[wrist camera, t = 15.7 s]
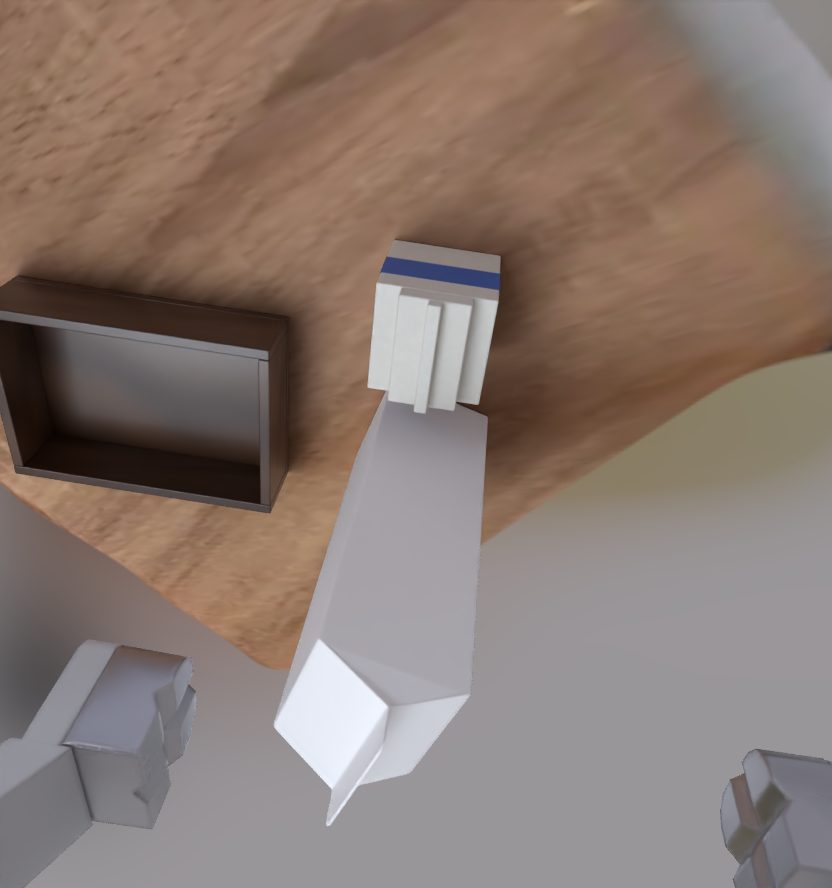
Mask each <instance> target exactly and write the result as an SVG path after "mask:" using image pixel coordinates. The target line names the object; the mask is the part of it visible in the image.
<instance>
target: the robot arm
mask: <svg viewBox="0 0 832 888" xmlns="http://www.w3.org/2000/svg"><path fill="white" fill-rule="evenodd" d="M193 672H194V671H193V665H192V659H191V658H190V657H184V656H179V655H174V654H168V653H163V652H157V651H151V650H146V649H141V648H135V647H129V646H124V645H120V644H114V643H108V642H102V641H95V640H89V639H88V640H86V641H85V642H84V643H83V644H82V645H81V646H80V647H79V648H78V649H77V650H76V652H75V653H74V655H73V657H72V658H71V660H70V662H69V663H68V665H67V666H66V668H65V670H64V671H63V673H62V674H61V676H60V678H59V679H58V681H57V682H56V684H55V686H54V687H53V689H52V690H51V692H50V694H49V695H48V697H47V698H46V700H45V702H44V703H43V705H42V707H41V708H40V710H39V711H38V713H37V715H36V716H35V718H34V719H33V721H32V723H31V724H30V726H29V728H28V729H27V731H26V732H25V734H24V736H23V737H22V738H15V737H11V738H9V739H8V740H6V741H5V742H3V743H2V744H0V888H24V887H25V886H27V885H28V884H29V883H30V882H31V881H32V880H33V879H34V878H35V877H36V876H37V875H39V874H40V873H41V872H42V871H43V870H44V869H45V868H46V867H47V866H48V865H50V864H51V863H52V862H53V861H54V860H55V859H56V858H57V857H58V856H59V855H60V854H62V853H63V852H64V851H65V850H66V849H67V848H68V847H69V846H70V845H71V844H73V843H74V842H75V841H76V840H77V839H78V838H79V837H80V836H81V835H82V834H83V833H85V831H87V830H88V829H89V828H90V827H91V826H92V824H93V823H92V821H96V822H103V823H110V824H118V825H124V826H132V827H139V828H146V829H153V827H154V824H155V822H156V819H157V817H158V815H159V812H160V810H161V807H162V805H163V802H164V800H165V798H166V795H167V793H168V790H169V788H170V785H171V781H170V774H169V767H168V766H170V765H171V764H172V763H173V762H175V761H176V760H177V759H179V758H180V757H181V756H182V755H183V753H184V751H185V748H186V746H187V743H188V741H189V738H190V735H191V731H192V727H193V723H194V719H195V713H196V691H195V690H194V689H193V688H192V687H191V686H190V685H189V682H190V679H191V677H192V674H193ZM742 765H743V768H744V774H742V775H739V776H737V777H735V778H733V779H730V781H729V783H728V785H727V787H726V788H725V790H724V792H723V796H722V803H721V809H720V815H721V828H722V832H723V838H724V842H725V846H726V848H727V849H728V850H729V851H730V853H731V854H732V855H733V856H734V857H735V859H736V860H737V861H738V862H739V864H740V866H739V868H738V870H737V872H736V874H735V876H734V878H733V882H734V886H735V888H832V761H826V760H824V759H822V758H815V757H808V756H801V755H795V754H788V753H781V752H774V751H767V750H761V749H754V750H752V751H749V752H748V753H747V755H746V756H745V758H744V759H743V761H742Z"/></svg>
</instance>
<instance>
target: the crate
mask: <svg viewBox="0 0 832 888" xmlns="http://www.w3.org/2000/svg"><path fill="white" fill-rule="evenodd" d="M288 397H289V317H286V316H279V315H272V314H266V313H259V312H252V311H246V310H239V309H232V308H226V307H219V306H212V305H206V304H199V303H192V302H186V301H179V300H172V299H166V298H159V297H153V296H146V295H139V294H133V293H126V292H119V291H113V290H106V289H99V288H93V287H86V286H79V285H73V284H66V283H59V282H53V281H46V280H40V279H33V278H26V277H20V276H16V277H14V278H13V279H12V280H10V281H8V282H7V283H6V284H4V285H3V286H1V287H0V414H1V418H2V421H3V425H4V429H5V433H6V437H7V441H8V445H9V448H10V452H11V456H12V460H13V464H14V468H15V472H16V473H17V474H24V475H30V476H36V477H43V478H49V479H55V480H62V481H68V482H74V483H81V484H87V485H93V486H100V487H106V488H112V489H119V490H125V491H131V492H138V493H144V494H150V495H157V496H163V497H169V498H176V499H182V500H188V501H195V502H201V503H207V504H214V505H220V506H226V507H232V508H239V509H245V510H251V511H258V512H264V513H271V511H272V508H273V506H274V504H275V501H276V499H277V497H278V494H279V492H280V489H281V487H282V485H283V482H284V480H285V478H286V475H287V473H288Z"/></svg>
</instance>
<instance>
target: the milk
mask: <svg viewBox="0 0 832 888" xmlns="http://www.w3.org/2000/svg"><path fill="white" fill-rule="evenodd" d="M413 409H414V405H412V404H405V403H399V402H393V401H388V391H386V392H385V394H384V396H383V398H382V400H381V403H380V405H379V407H378V409H377V411H376V413H375V416H374V418H373V420H372V422H371V424H370V426H369V429H368V431H367V433H366V435H365V437H364V439H363V442H362V444H361V446H360V448H359V450H358V453H357V455H356V458H355V462H354V465H353V468H352V471H351V475H350V478H349V481H348V484H347V488H346V491H345V494H344V497H343V501H342V504H341V507H340V510H339V514H338V517H337V520H336V523H335V526H334V530H333V533H332V536H331V539H330V543H329V546H328V549H327V552H326V556H325V559H324V562H323V565H322V569H321V572H320V575H319V578H318V582H317V585H316V588H315V591H314V595H313V598H312V601H311V604H310V608H309V611H308V614H307V617H306V621H305V624H304V627H303V630H302V634H301V637H300V640H299V643H298V647H297V650H296V653H295V656H294V659H293V663H292V666H291V669H290V673H289V676H288V679H287V682H286V685H285V689H284V692H283V695H282V698H281V702H280V705H279V708H278V712H277V715H276V718H275V721H274V727H275V729H276V730H277V731H278V732H279V733H280V734H281V735H282V736H283V737H284V739H285V740H286V741H287V742H288V743H289V744H290V745H291V746H292V747H293V748H294V749H295V750H296V751H297V752H298V754H300V756H301V757H302V758H303V759H304V760H305V761H306V762H307V763H308V764H309V765H310V766H311V767H312V769H314V771H315V772H316V773H317V774H318V775H319V776H320V777H321V778H322V779H323V780H324V781H325V782H326V784H327V785H328V786H329V787H330V788H331V789H332V795H331V800H330V805H329V810H328V814H327V819H326V825H327V826H330V825H331V823H332V822H333V821H334V819H335V818H336V816H337V815H338V814H339V812H340V811H341V809H342V808H343V807H344V805H345V804H346V802H347V801H348V799H349V798H350V797H351V795H352V794H353V792H354V791H355V789H356V788H357V786H358V785H363V784H366V783H371V782H375V781H379V780H384V779H388V778H392V777H396V776H401V775H405V774H408V773H410V772H411V771H412V770H413V769H414V767H415V766H416V765H417V763H418V762H419V761H420V760H421V758H422V757H423V756H424V754H425V753H426V752H427V750H428V749H429V748H430V747H431V745H432V744H433V743H434V742H435V740H436V739H437V738H438V736H439V735H440V734H441V733H442V731H443V730H444V728H445V727H446V726H447V725H448V724H449V722H450V721H451V720H452V718H453V717H454V716H455V714H456V713H457V712H458V711H459V709H460V708H461V707H462V705H463V704H464V703H465V702H466V700H467V699H468V698H469V696H470V695H471V691H472V675H473V658H474V641H475V625H476V608H477V591H478V575H479V557H480V541H481V525H482V508H483V491H484V475H485V458H486V441H487V424H488V417H487V416H485V415H483V414H480V413H478V412H475V411H473V410H471V409H468V408H466V407H463V406H461V405H459V404H456V407H455V410H454V411H450V410H444V409H437V408H431V407H427V411H426V413H425V414H423V413H417V412H414V411H413Z"/></svg>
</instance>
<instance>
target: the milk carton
mask: <svg viewBox="0 0 832 888" xmlns="http://www.w3.org/2000/svg"><path fill="white" fill-rule="evenodd" d="M500 262H501V256H498V255H492V254H485V253H478V252H472V251H465V250H459V249H452V248H445V247H439V246H432V245H426V244H419V243H412V242H406V241H399V240H394V241H393V243H392V246H391V248H390V251H389V253H388V256H387V257H386V259H385V262H384V264H383V267H382V269H381V272H380V276H379V278H378V281H377V284H376V295H375V306H374V317H373V329H372V340H371V351H370V363H369V374H368V385H367V387H368V388H373V389H379V390H386V391H388V401H393V402H399V403H405V404H412V405H414V409H413V411H414V412H417V413H423V414H425V413H426V411H427V407H431V408H437V409H444V410H450V411H454V410H455V407H456V402H462V403H469V404H475V405H478V404H479V401H480V396H481V391H482V386H483V380H484V375H485V370H486V365H487V360H488V355H489V349H490V344H491V339H492V334H493V329H494V324H495V318H496V313H497V308H498V303H499V292H500Z"/></svg>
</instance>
